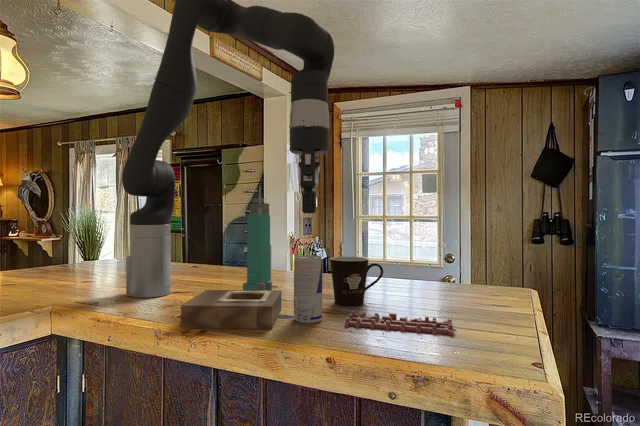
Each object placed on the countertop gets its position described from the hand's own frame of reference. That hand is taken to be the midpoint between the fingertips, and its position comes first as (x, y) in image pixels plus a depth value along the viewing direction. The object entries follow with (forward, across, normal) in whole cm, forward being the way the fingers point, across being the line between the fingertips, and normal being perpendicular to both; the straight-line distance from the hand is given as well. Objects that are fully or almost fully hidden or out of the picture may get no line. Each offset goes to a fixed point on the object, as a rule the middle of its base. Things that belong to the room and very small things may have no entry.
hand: (309, 213), depth 76 cm
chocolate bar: (+21, +4, +17) cm, 27 cm away
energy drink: (+20, 0, 0) cm, 21 cm away
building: (+20, -22, -13) cm, 33 cm away
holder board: (+20, -1, -14) cm, 25 cm away
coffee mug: (+20, -14, +10) cm, 26 cm away
